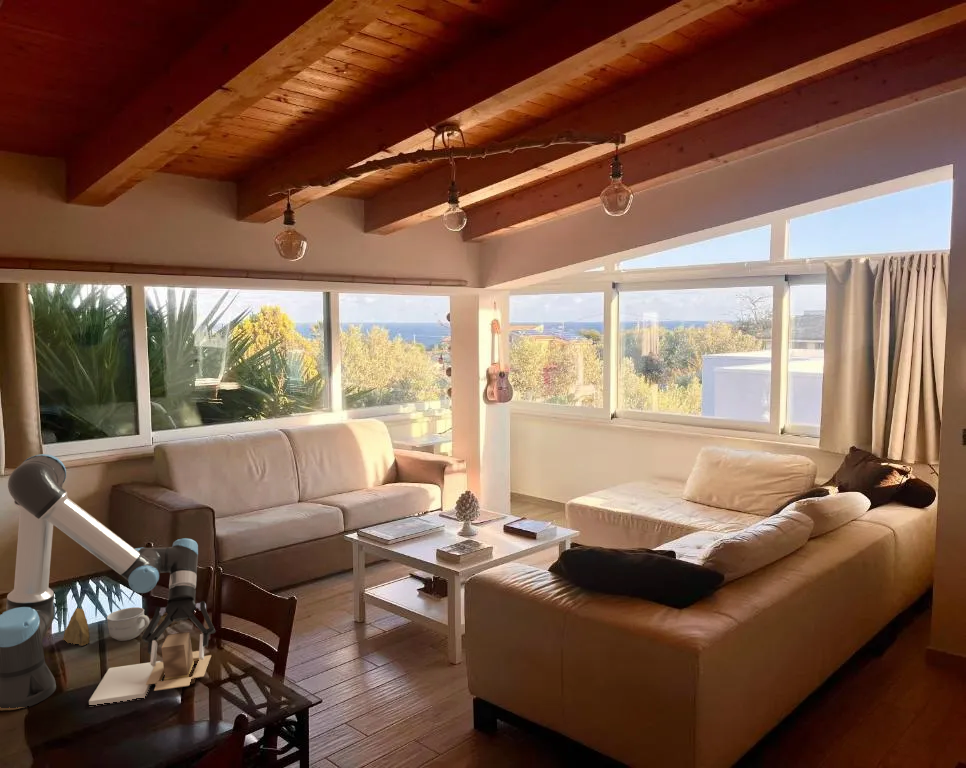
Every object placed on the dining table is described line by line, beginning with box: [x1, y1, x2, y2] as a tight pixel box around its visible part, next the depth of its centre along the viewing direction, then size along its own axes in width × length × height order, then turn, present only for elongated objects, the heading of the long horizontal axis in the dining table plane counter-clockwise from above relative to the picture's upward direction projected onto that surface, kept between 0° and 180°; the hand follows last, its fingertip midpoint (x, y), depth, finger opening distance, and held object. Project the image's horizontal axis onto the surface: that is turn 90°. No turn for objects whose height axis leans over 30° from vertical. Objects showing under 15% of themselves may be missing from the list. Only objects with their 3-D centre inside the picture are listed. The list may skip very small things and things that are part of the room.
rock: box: [62, 607, 91, 646], centre depth 237 cm, size 11×9×10 cm
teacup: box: [106, 607, 151, 642], centre depth 238 cm, size 14×11×8 cm
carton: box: [146, 650, 212, 691], centre depth 212 cm, size 15×20×2 cm
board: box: [88, 660, 161, 706], centre depth 208 cm, size 14×18×2 cm
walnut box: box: [161, 631, 194, 681], centre depth 211 cm, size 6×8×11 cm
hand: (177, 661), depth 210 cm, fingers open, 12 cm apart
